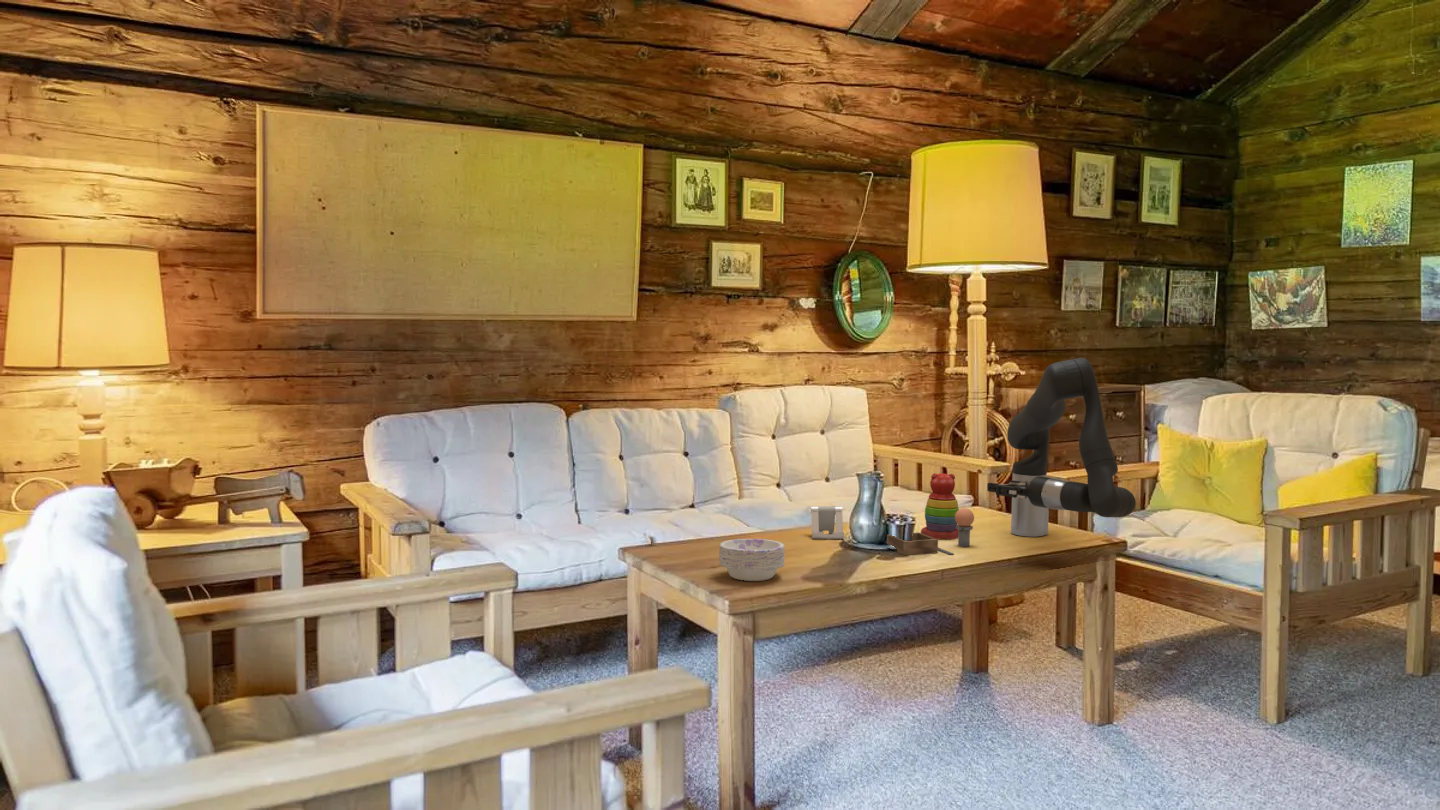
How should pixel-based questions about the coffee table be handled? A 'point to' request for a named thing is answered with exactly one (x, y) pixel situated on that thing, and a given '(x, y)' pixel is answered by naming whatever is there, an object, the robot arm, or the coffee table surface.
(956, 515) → the ball
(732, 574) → the paper bowls
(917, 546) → the shallow wooden crate
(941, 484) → the stacking bear
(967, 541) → the tee
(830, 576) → the coffee table surface
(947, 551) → the finish line
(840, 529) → the portable electronic device stand
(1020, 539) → the coffee table surface
